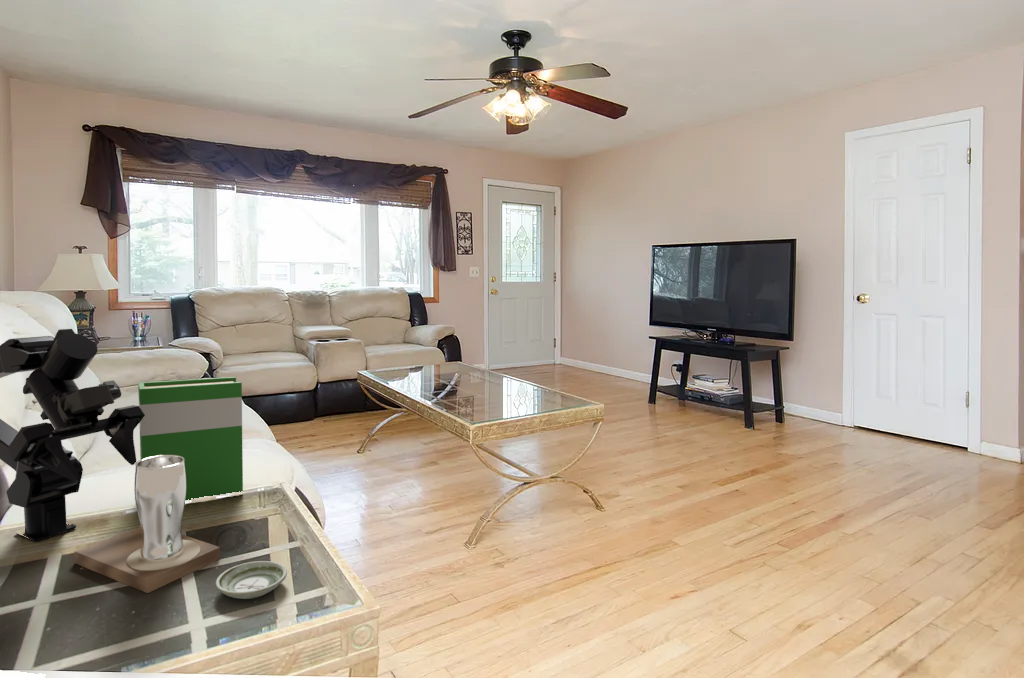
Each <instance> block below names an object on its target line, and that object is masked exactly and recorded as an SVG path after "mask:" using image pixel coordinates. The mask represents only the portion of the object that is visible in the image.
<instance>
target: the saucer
mask: <svg viewBox="0 0 1024 678" xmlns="http://www.w3.org/2000/svg"><path fill="white" fill-rule="evenodd" d="M287 575H288V570H287V568H286V566H285V565H283V564H282V563H279V562H275V561H271V560H270V561H269V560H257V561H249V562H244V563H241V564H237V565H235V566H232V567H230V568H228V569H226V570H225V571H224V572H222V573H220V574H219V576H218V577H217V579H216V580H215V587H216V589H217V591H218V592H220V593H222V594H223V595H226V596H228V597H231V598H233V599H240V600H252V599H257V598H259V597H262V596H264V595H266V594H268V593H270V592H272V591H273V590H275V589H276V588H278V586H279V585H281V583H282V582H284V581H285V580H286V578H287Z"/></svg>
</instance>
